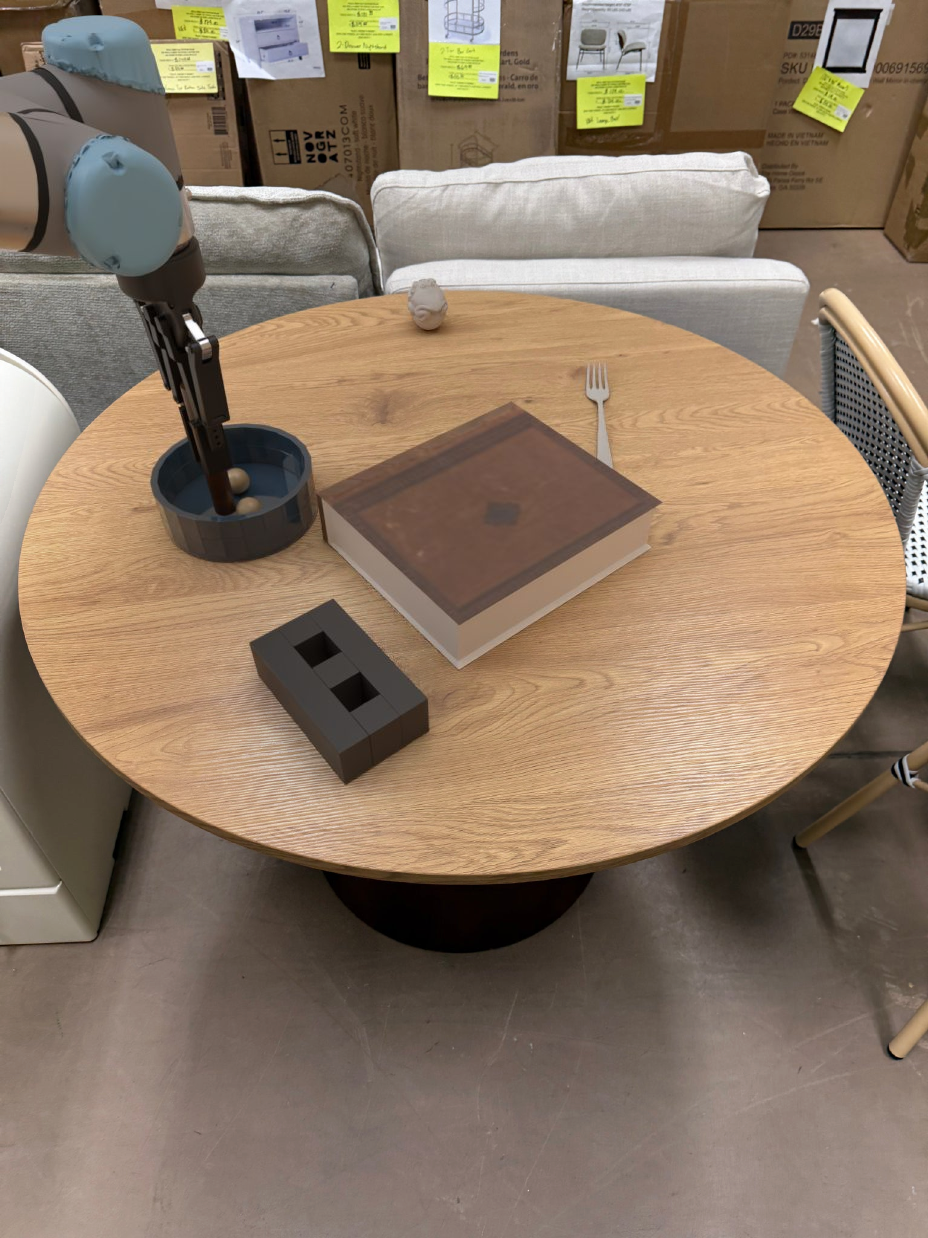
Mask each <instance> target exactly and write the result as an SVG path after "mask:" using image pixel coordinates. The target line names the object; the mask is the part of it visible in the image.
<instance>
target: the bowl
mask: <svg viewBox="0 0 928 1238" xmlns="http://www.w3.org/2000/svg"><path fill="white" fill-rule="evenodd" d="M222 425H223V429H224V433H225V437H226V441H227V445H228V449H229V453H230V457H231V461H232V465H233V467H232V468H229V469H227V471H228V470H230V469H233V468H239V469H242V470H244V471H245V472H246V473H247V474H248V476H249V479H250V484H249V487H248V489H247V490H246V491H245V492H243V493H241V494H233V495H234V499H235V503H236V506H237V504H238V502H239V501H240V500H241V499H243V498H246V497H252V498H255V499H257V500H258V501H259V502H260V503H261V505H262V507H263V509H260V510H258V511H254V512H250V513H246V514H242V515H236V511H235V512H234V513H233V514H231V515H228V516H220V515H218V514H217V513H216V512H215V509H214V505H213V502H212V498H211V495H210V491H209V488H208V484H207V481H206V477H205V474H204V470H203V466H202V463H201V461H200V462H196V461H195V460H194V459H193V455H192V452H191V449H190V445H189V442H188V438H187V436H185V437H184V438H183V439H181V440H179V441H177V442H176V443H174V444H173V445H171V446H170V447H169V448H168V449H166V450H165V452H164V453H163V454H162V455H161V456H160V457H158V459H157V461H156V463H155V464H154V465H153V467H152V469H151V474H150V481H149V485H150V489H151V492H152V495H153V499H154V501H155V504H156V507H157V510H158V513H159V515H160V518H161V521H162V524H163V527H164V530H165V532H166V534H167V536H168V537H169V540H170V541H171V542H172V543H173V544H174V545H175V546H176V547H177V548H179V550H181V551H183V552H184V553H186V554H188V555H190V556H192V557H195V558H198V559H201V560H205V561H209V562H215V563H216V562H217V563H242V562H251V561H254V560H258V559H262V558H265V557H268V556H271V555H274V554H276V553H279V552H281V551H283V550H285V549H286V548H289V547H290V546H291V545H293V544H294V543H296V542H297V541H299V539H301V538H302V537H303V536H304V535H305V534H306V533H307V532H308V530H309V529H310V528H311V527H312V525H313V524H314V521H315V519H316V517H317V513H318V511H319V509H318V503H317V496H316V492H318V491H317V484H316V479H315V478H316V477H315V472H314V471H315V470H314V465H313V459H312V455H311V454H310V452H309V449H308V447H307V446H306V444H304V442H302V440H300V439H299V438H298V437H297V436H296V435H293V434H292V433H290V432H288V431H286V430H283V429H282V428H279V427H276V426H275V427H274V426H270V425H267V424H261V423H247V422H246V423H245V422H244V423H243V422H242V423H231V424H222Z"/></svg>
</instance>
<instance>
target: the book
mask: <svg viewBox="0 0 928 1238" xmlns="http://www.w3.org/2000/svg"><path fill="white" fill-rule="evenodd" d="M316 496H317V503H318V514H319V520H320V527H321V533H322V538H323V539H324V541H326V543H328V545H329V546H331V547H332V548H333V549H334V551H336V552H337V553H338V554H339V555H340V556H341V557H342V558H343V559H344V560H345V561H346V562H347V564H349V565H350V566H351V567H352V568H353V569H354V570H355V571H356V572H357V573H358V574H359V575H361V576H362V577H363V578H364V580H366V581H367V582H368V584H370V585H371V587H373V588H374V589H375V590H376V591H377V592H378V593H379V594H380V596H382V597H383V598H384V600H386V601H387V602H388V603H389V604H391V606H392V607H393V608H394V609H395V610H396V611H398V613H400V614H401V615H402V617H404V618H405V619H406V620H407V621H408V622H409V623H410V624H411V626H413V627H414V628H415V629H416V630H417V631H418V632H419V633H420V634H421V635H422V636H423V637H424V638H425V639H426V640H427V641H428V642H429V643H430V644H431V645H432V646H434V648H436V649H437V651H439V653H441V654H442V655H443V656H444V657H445V658H446V660H447V661H449V663H451V664H452V665H453V666H454V667H455V668H456V669H457V670H461V669H463V668H464V667H466V666H467V665H468V664H470V663H472V662H473V661H475V660H477V659H478V658H480V657H482V656H483V655H484V654H486V653H488V652H490V651H491V650H493V649H494V648H496V647H497V646H498V645H500V644H502V643H503V642H505V641H507V640H508V639H510V638H511V637H513V636H515V635H516V634H518V633H519V632H521V631H523V630H524V629H526V628H527V627H529V626H531V625H532V624H534V623H535V622H537V621H538V620H540V619H541V618H543V617H545V616H547V615H548V614H550V613H551V612H552V611H554V610H555V609H558V608H559V607H560V606H562V605H563V604H565V603H567V602H568V601H570V600H571V599H573V598H575V597H576V596H578V595H579V594H582V593H583V592H584V591H586V590H587V589H589V588H590V587H592V586H594V585H595V584H597V583H598V582H601V580H603V579H605V578H606V577H608V576H609V575H611V574H613V573H614V572H616V571H618V570H619V569H621V568H622V567H624V566H625V565H627V564H629V563H630V562H631V561H633V560H635V559H636V558H638V557H639V556H641V555H642V554H645V553H646V552H648V551H649V550H650V549H652V546H651V545H649V544H648V539H649V535H650V530H651V526H652V522H653V518H654V514H655V511H656V507H658V506H660V505H662V504H663V503H664V501H662V500H660V499H659V498H657V497H656V496H654V495H652V494H651V493H649V491H647V490H645V489H643V488H642V487H640V486H639V485H638V484H636V483H635V482H633V481H632V480H630V479H629V478H628V477H625V476H624V475H623V474H621V473H619V472H618V471H617V470H615V468H613V469H612V468H611V467H609V466H608V465H606V464H605V463H603V462H602V461H600V460H599V459H597V456H594V455H593V454H591V453H590V452H588V451H586V450H585V449H584V448H582V447H580V446H579V445H578V444H576V443H575V442H573V441H572V440H571V439H568V438H567V437H566V436H564V435H563V434H561V433H559V432H558V431H556V430H555V429H553V428H552V427H550V426H549V425H547V424H546V422H543V421H542V420H540V419H539V418H537V417H536V416H534V415H533V414H531V413H530V412H528V411H527V410H525V409H524V408H522V407H521V406H519V405H517V404H516V403H514V402H513V401H509V402H507V403H505V404H503V405H501V406H498V407H496V408H494V409H493V410H490V411H488V412H486V413H483V414H481V415H479V416H477V417H474V418H473V419H470V420H469V421H466V422H464V423H462V424H460V425H458V426H455V427H454V428H451V429H450V430H447V431H445V432H443V433H440V434H438V435H436V436H434V437H432V438H430V439H428V440H426V441H423V442H421V443H419V444H417V445H415V446H413V447H411V448H409V449H406V450H404V451H402V452H400V453H398V454H396V455H394V456H392V457H389V458H387V459H385V460H383V461H381V462H378V463H377V464H374V465H372V466H370V467H367V468H365V469H363V470H362V471H359V472H357V473H355V474H353V475H350V476H348V477H346V478H345V479H342V480H340V481H338V482H336V483H334V484H331V485H328V486H327V487H325V488H323V489H321V490H319V491H317V492H316Z"/></svg>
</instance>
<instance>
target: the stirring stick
mask: <svg viewBox="0 0 928 1238" xmlns="http://www.w3.org/2000/svg"><path fill="white" fill-rule="evenodd" d="M180 388H181V392H182V396H183V399H184V403H185V406H186V410H187V413H188V417H189V420H193V419H195V416H194V413H193V410H192V407H191V404H190V401H189V398H188V395H187V392H186V389H185V386H184V383H183V382H182V383H181V384H180ZM192 431H193V435H194V438H195V442H196V445H197V449H198V452H199V456H200V459H201V463H202V466H203V470H204V474H205V477H206V481H207V484H208V488H209V491H210V495H211V498H212V502H213V505H214V509H215V512H216V513H217V514H218V515H220V516H228V515H231V514H233V513H234V512H235V511H236V503H235V499H234V495H233V491H232V487H231V483H230V479H229V475H228V472H227V470H224V471H222V472H220V473H217V474H215V475H213V476H209V475H208V474H207V472H206V469H205V465H204V462H203V458H202V455H201V451H200V448H199V444H198V441H197V437H196V434H195V430H194V429H192Z"/></svg>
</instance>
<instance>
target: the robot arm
mask: <svg viewBox="0 0 928 1238" xmlns="http://www.w3.org/2000/svg"><path fill="white" fill-rule="evenodd" d="M41 43H42V44H41V45H42V48H43V54H42V55H43V59H44V62H45V63H46V64H43V65H40V66H37V67H35V68H33V69H30V70H25V71H21V72H17V73H12V74H8V75H4V76H0V252H1V251H2V252H13V253H14V252H16V253H27V254H33V255H45V256H57V257H58V256H59V257H71V258H72V257H73V258H78V259H82V261H84V262H85V263H87V265H90V266H92V267H94V268H96V269H98V270H100V271H105V272H106V271H107V272H110V273H112V274H115V278H116V281H117V284H118V287H119V289H120V290H121V292H122V293H123V294H124V295H125V296H126V297H127V298H129V299H132V302H133V303H134V305H135V308H136V309H137V312H138V314H139V316H140V319H141V322H142V325H143V329H144V331H145V333H146V337H147V339H148V342H149V345H150V348H151V351H152V353H153V356H154V359H155V363H156V365H157V368H158V372H159V374H160V377H161V380H162V383H163V387H164V389H165V391H167V392H171V394H172V399H173V401H174V402H175V403H176V404H177V405H180V406H178V411H179V413H180V418H181V422H182V425H183V428H184V431H185V435H186V437H187V438H188V442H189V445H190V449H191V452H192V455H193V459H194V460H195V461H196V462H200V461H201V459H200V456H199V452H198V449H197V445H196V442H195V438H194V435H193V431H192V429H194V430H195V434H196V437H197V441H198V444H199V448H200V451H201V455H202V458H203V462H204V465H205V469H206V472H207V474H208V475H209V476H213V475H215V474H217V473H220V472H222V471H224V470H227V469H229V468H232V467H233V465H232V461H231V457H230V453H229V449H228V445H227V441H226V437H225V433H224V429H223V425H224V423H227V422H229V421H231V415H230V410H229V409H230V408H229V404H228V400H227V394H226V389H225V383H224V376H223V371H222V366H221V362H220V361H221V360H220V341H219V339H218V337H217V336H216V335H215V334H211V335H209V336H206V335H205V332H204V329H203V324H204V319H203V316H202V312H201V310H200V308H199V306H198V305H197V304H196V303H195V302H194V297H195V295H196V293H197V292H198V291H199V290H200V289H201V288H202V287H203V286H204V284H205V282H206V278H207V272H206V269H205V264H204V260H203V256H202V251H201V248H200V247H201V246H200V243H199V242H200V241H199V240H198V238H197V237H196V236H195V235H194V234H195V231H196V228H195V223H194V219H193V216H192V211H191V206H190V203H189V201H191V200H192V198H193V193H192V191H191V190H190V189H189V188H188V187H186V185H185V180H184V177H183V170H182V167H181V161H180V158H179V154H178V149H177V144H176V140H175V135H174V132H173V126H172V121H171V118H170V113H169V109H168V105H167V100H166V94H167V93H166V88H165V86H164V84H163V81H162V78H161V74H160V70H159V67H158V64H157V60H156V56H155V54H154V51H153V49H152V44H151V41H150V39H149V36H148V35H147V33H146V31H145V30H144V29H143V28H142V27H141V26H140V25H139V24H138V23H136V22H135V21H133V20H131V19H128V18H124V17H121V16H116V15H115V16H114V15H83V16H81V15H80V16H74V17H68V18H63V19H60V20H58V21H57V22H53V23H51V24H48V25H47V26H45V27H44V29H43V30H42V32H41ZM182 382H183V383H184V386H185V389H186V392H187V395H188V398H189V401H190V404H191V407H192V410H193V413H194V416H195V419H193V420H189V417H188V413H187V410H186V406H185V403H184V399H183V396H182V392H181V388H180V384H181V383H182Z"/></svg>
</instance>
